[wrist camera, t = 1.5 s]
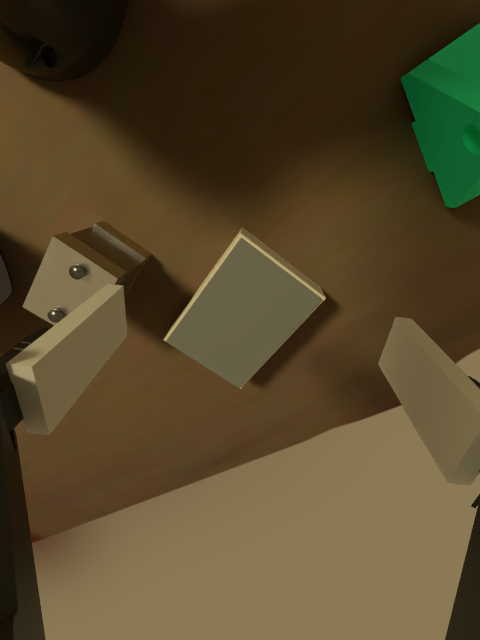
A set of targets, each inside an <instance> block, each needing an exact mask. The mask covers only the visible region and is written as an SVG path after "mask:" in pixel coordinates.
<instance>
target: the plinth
mask: <svg viewBox="0 0 480 640" xmlns="http://www.w3.org/2000/svg"><path fill="white" fill-rule="evenodd" d="M325 299H326V297H325V295H324V293H323V291H322V289H321V287H320V286H319V285H317V284H316V283H315V282H313V281H312V280H311V279H310V278H308V277H307V276H306V275H304V274H303V273H302V272H300V271H299V270H298V269H297V268H295V267H294V266H293V265H291V264H290V263H289V262H287V261H286V260H285V259H283V258H282V257H281V256H280V255H278V254H277V253H276V252H274V251H273V250H272V249H270V248H269V247H268V246H267V245H265V244H264V243H263V242H261V241H260V240H259V239H257V238H256V237H255V236H254V235H252V234H251V233H250V232H248V231H247V230H246V229H244V228H243V227H242V228H241V230H240V231H239V233H238V234H237V235H236V237H235V238H234V240H233V241H232V242H231V244H230V245H229V247H228V248H227V249H226V251H225V252H224V254H223V255H222V256H221V258H220V259H219V261H218V262H217V263H216V265H215V266H214V268H213V269H212V270H211V272H210V273H209V275H208V276H207V277H206V279H205V280H204V282H203V283H202V284H201V286H200V287H199V289H198V290H197V291H196V293H195V294H194V296H193V297H192V298H191V300H190V301H189V303H188V304H187V305H186V307H185V308H184V310H183V311H182V312H181V314H180V315H179V317H178V318H177V319H176V321H175V322H174V324H173V325H172V326H171V328H170V330H169V331H168V333H167V335H166V337H165V338H164V341H166V342H167V343H168V344H170V345H172V346H173V347H175V348H176V349H178V350H179V351H181V352H183V353H184V354H186V355H187V356H189V357H191V358H192V359H194V360H195V361H197V362H198V363H200V364H202V365H203V366H205V367H206V368H208V369H210V370H211V371H213V372H214V373H216V374H218V375H219V376H221V377H222V378H224V379H225V380H227V381H229V382H230V383H232V384H233V385H235V386H237V387H238V388H240V389H241V388H242V387H243V386H244V385H245V384H246V382H247V381H248V380H249V379H250V378H251V377H252V376H253V375H254V374H255V373H256V372H257V371H258V370H259V369H260V368H261V367H262V366H263V364H264V363H265V362H266V361H267V360H268V359H269V358H270V357H271V356H272V355H273V354H274V353H275V352H276V351H277V350H278V349H279V348H280V346H281V345H282V344H283V343H284V342H285V341H286V340H287V339H288V338H289V337H290V336H291V335H292V334H293V333H294V332H295V331H296V330H297V328H298V327H299V326H300V325H301V324H302V323H303V322H304V321H305V320H306V319H307V318H308V317H309V316H310V315H311V314H312V313H313V312H314V310H315V309H316V308H317V307H318V306H319V305H320V304H321V303H322V302H323V301H324V300H325Z"/></svg>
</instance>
